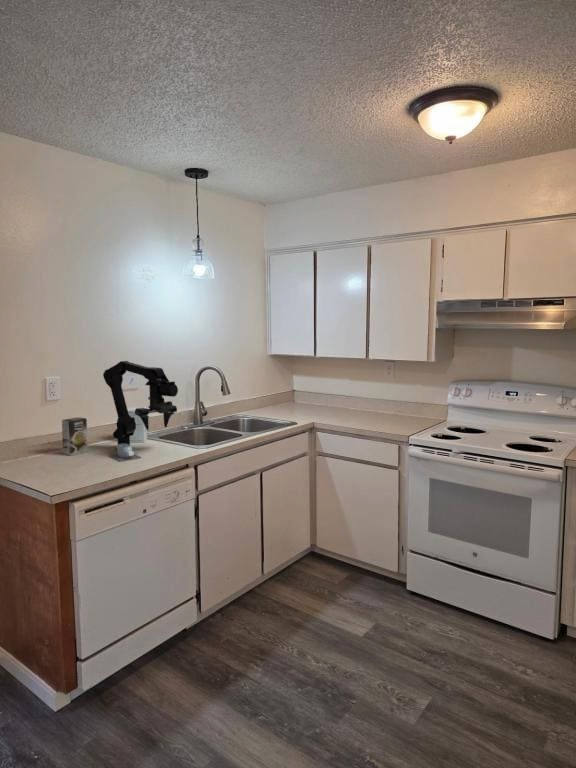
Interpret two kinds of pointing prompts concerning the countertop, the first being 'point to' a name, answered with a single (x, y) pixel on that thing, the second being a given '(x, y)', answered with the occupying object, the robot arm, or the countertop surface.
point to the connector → (124, 451)
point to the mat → (122, 458)
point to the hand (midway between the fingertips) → (156, 428)
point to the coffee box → (74, 436)
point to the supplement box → (138, 427)
